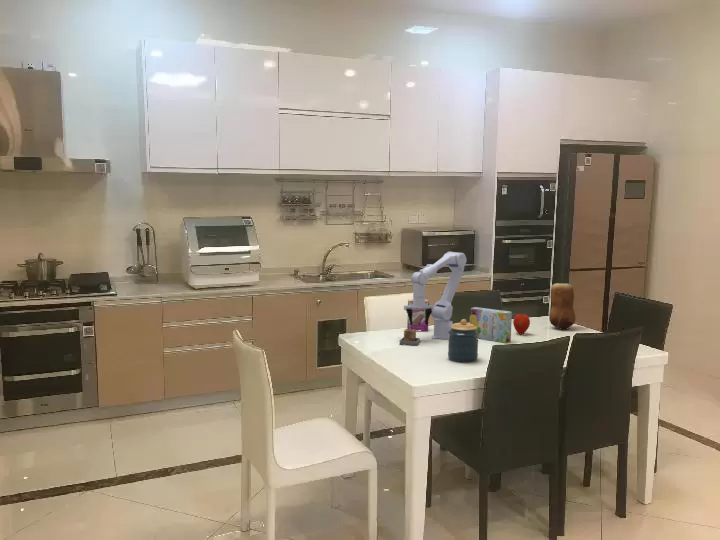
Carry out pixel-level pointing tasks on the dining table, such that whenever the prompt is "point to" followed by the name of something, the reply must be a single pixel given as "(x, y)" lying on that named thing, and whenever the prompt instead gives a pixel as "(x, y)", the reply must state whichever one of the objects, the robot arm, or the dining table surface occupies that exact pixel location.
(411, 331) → the block
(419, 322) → the candy bar box
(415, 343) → the tray
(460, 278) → the robot arm
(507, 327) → the snack box
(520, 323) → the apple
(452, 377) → the dining table surface
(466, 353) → the canister
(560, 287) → the butternut squash
